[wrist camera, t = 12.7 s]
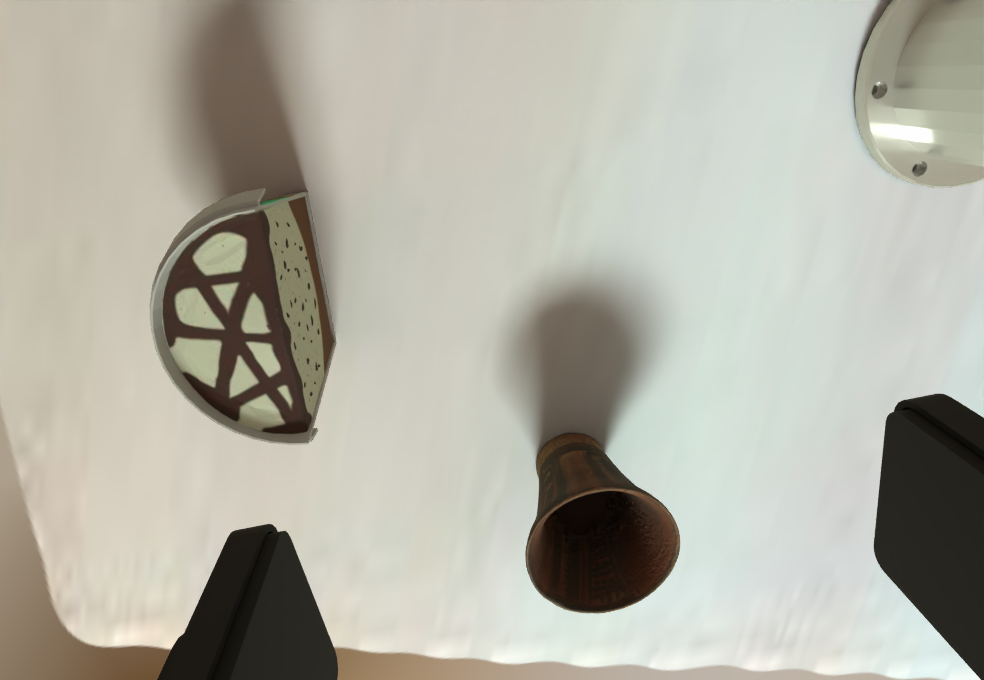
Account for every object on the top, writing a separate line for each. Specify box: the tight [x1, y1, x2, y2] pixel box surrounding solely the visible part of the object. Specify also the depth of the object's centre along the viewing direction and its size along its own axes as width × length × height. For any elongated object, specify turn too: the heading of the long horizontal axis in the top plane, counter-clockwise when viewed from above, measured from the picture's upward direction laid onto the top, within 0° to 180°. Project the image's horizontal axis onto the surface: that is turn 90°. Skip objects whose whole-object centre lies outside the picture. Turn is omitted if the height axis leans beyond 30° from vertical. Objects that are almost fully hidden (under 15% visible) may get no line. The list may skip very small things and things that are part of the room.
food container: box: [150, 188, 336, 445], centre depth 32 cm, size 12×6×10 cm, turn 4°
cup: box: [526, 433, 680, 613], centre depth 38 cm, size 9×9×10 cm
